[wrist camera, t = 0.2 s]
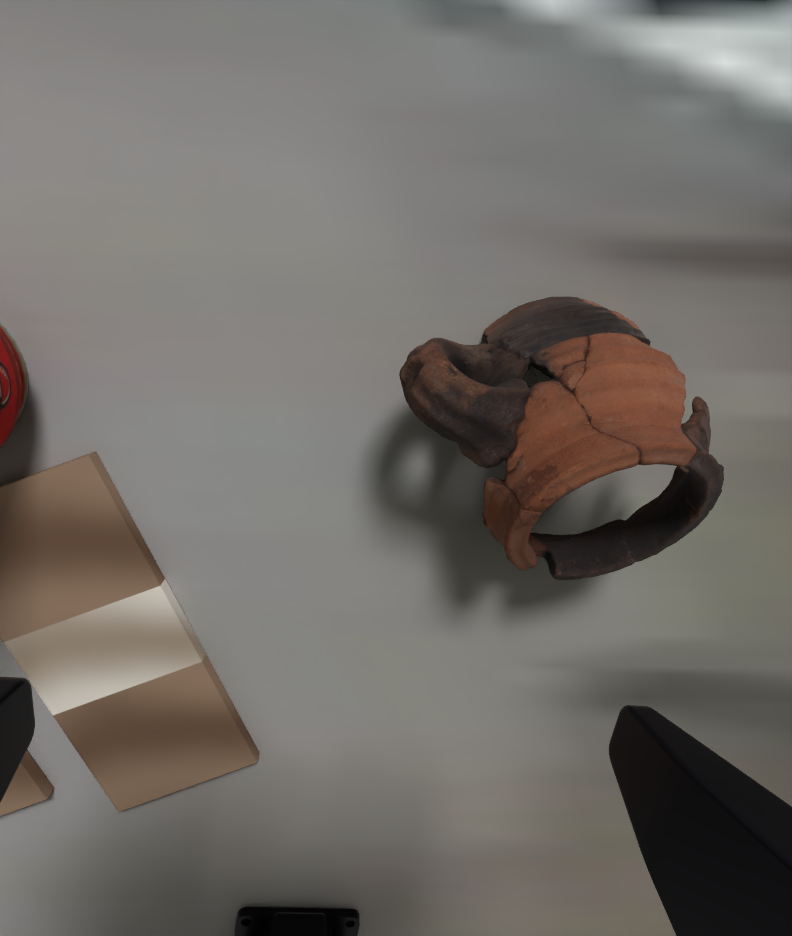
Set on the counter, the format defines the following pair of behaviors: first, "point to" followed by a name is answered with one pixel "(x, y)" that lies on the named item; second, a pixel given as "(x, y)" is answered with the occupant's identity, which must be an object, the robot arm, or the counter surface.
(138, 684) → the brown wooden board
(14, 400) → the soda can
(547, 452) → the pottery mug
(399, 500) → the counter surface
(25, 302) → the counter surface
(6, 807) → the lane broken
